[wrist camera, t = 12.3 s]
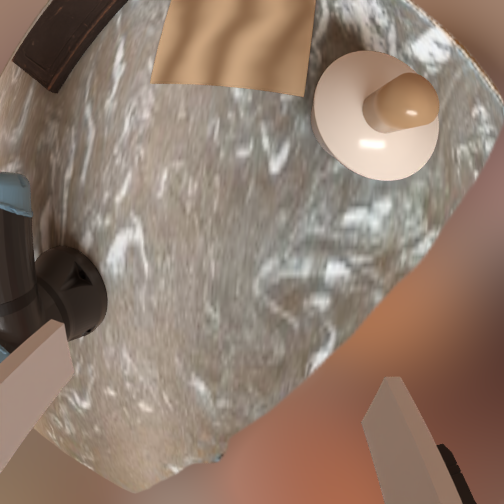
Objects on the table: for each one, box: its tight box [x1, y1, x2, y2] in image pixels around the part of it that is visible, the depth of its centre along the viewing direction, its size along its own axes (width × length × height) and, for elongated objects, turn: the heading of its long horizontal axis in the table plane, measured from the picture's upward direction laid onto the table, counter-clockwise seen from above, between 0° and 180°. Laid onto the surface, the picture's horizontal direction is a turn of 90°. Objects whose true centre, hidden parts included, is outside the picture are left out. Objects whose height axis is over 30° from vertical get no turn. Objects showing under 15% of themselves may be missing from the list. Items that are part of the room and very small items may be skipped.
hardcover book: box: [12, 0, 128, 93], centre depth 29 cm, size 16×23×2 cm
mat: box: [150, 0, 316, 97], centre depth 30 cm, size 20×20×1 cm
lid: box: [313, 51, 439, 181], centre depth 22 cm, size 14×14×8 cm
